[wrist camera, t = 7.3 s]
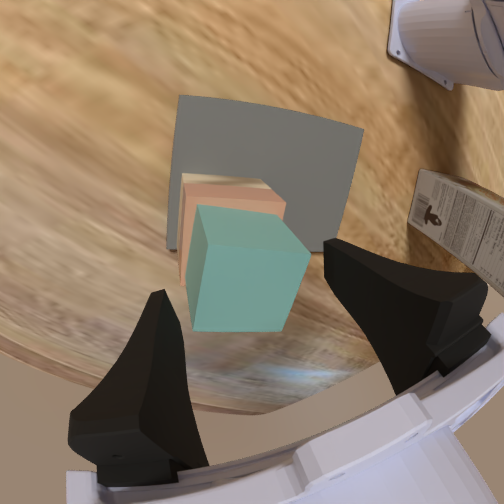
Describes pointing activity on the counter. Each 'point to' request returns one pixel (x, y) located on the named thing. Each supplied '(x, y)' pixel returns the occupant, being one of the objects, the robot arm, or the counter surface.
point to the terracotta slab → (225, 198)
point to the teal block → (242, 270)
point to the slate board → (268, 159)
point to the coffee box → (462, 222)
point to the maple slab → (215, 181)
